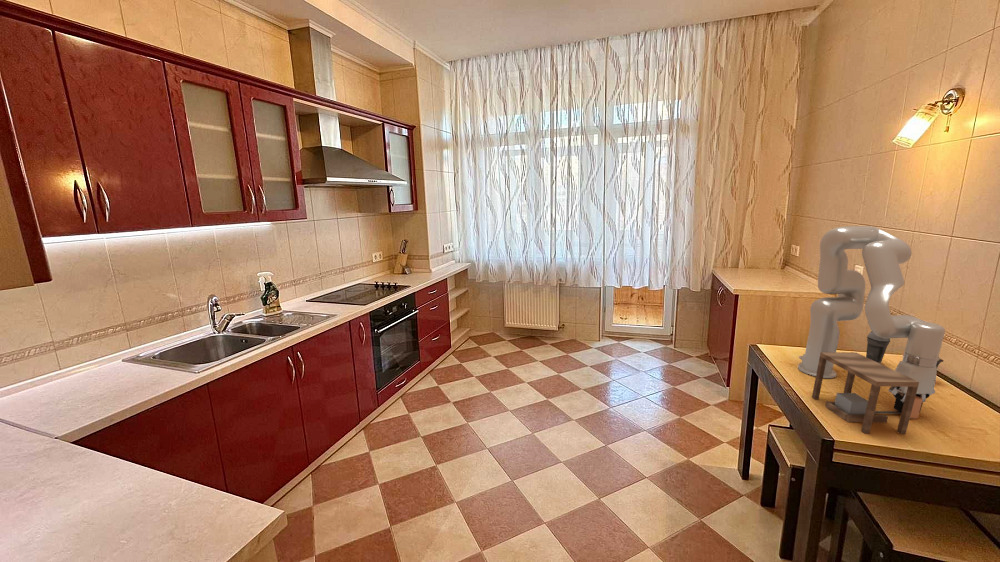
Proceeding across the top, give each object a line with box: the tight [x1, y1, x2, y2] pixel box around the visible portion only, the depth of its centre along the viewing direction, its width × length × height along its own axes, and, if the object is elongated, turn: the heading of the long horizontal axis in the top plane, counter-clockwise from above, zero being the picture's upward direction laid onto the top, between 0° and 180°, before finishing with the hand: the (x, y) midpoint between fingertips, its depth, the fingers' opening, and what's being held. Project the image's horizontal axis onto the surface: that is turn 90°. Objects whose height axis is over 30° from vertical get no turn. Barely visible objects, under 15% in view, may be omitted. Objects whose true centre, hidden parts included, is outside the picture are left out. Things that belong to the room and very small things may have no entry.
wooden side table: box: [811, 351, 919, 435], centre depth 132 cm, size 22×13×18 cm, turn 179°
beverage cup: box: [865, 330, 891, 364], centre depth 170 cm, size 7×7×20 cm
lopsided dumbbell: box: [834, 392, 923, 419], centre depth 133 cm, size 6×23×7 cm, turn 89°
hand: (906, 410), depth 134 cm, fingers open, 4 cm apart
